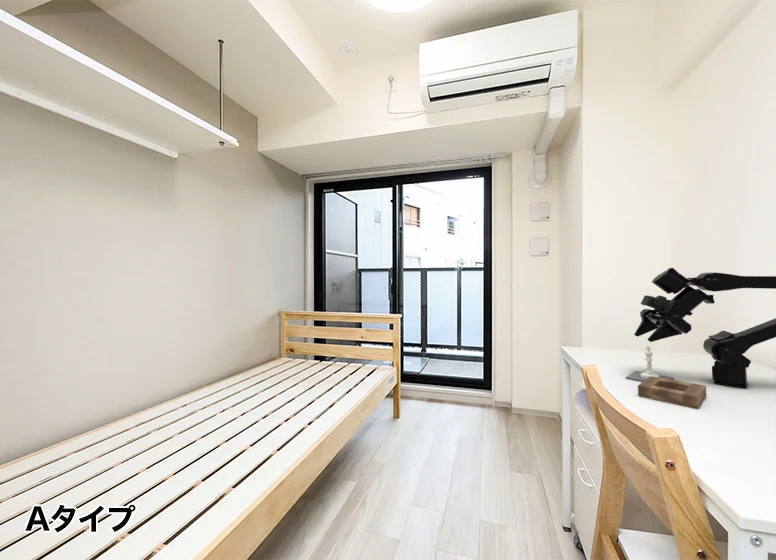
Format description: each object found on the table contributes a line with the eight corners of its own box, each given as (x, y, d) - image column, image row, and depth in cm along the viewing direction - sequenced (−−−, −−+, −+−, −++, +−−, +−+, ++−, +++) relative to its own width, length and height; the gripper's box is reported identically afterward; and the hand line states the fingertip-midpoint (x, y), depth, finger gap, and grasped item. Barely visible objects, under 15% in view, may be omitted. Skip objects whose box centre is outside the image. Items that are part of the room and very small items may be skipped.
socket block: (706, 396, 84) (706, 385, 84) (698, 409, 77) (697, 397, 77) (650, 386, 94) (649, 376, 94) (638, 396, 87) (637, 385, 87)
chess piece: (647, 379, 98) (646, 348, 98) (636, 375, 103) (635, 345, 103) (664, 379, 98) (662, 347, 98) (652, 374, 103) (650, 344, 103)
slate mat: (673, 378, 99) (673, 377, 99) (665, 386, 93) (665, 384, 93) (635, 372, 107) (635, 370, 107) (625, 378, 101) (625, 377, 101)
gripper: (645, 285, 108) (610, 317, 112) (676, 287, 90) (633, 324, 94) (674, 308, 106) (637, 339, 109) (712, 314, 88) (666, 351, 91)
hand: (642, 338), depth 101 cm, fingers open, 9 cm apart
